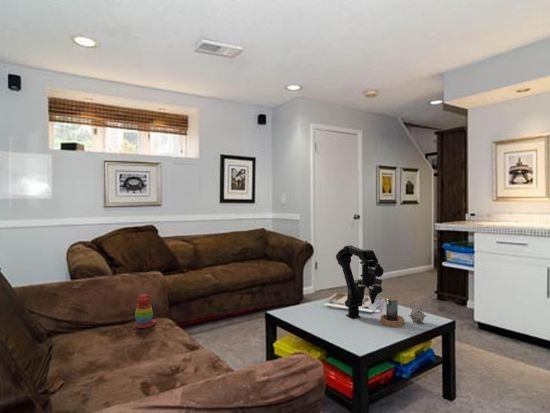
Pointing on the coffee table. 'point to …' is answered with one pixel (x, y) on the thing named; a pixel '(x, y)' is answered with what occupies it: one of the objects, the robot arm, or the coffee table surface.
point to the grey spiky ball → (417, 315)
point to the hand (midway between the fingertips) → (367, 301)
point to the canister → (392, 308)
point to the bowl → (392, 323)
